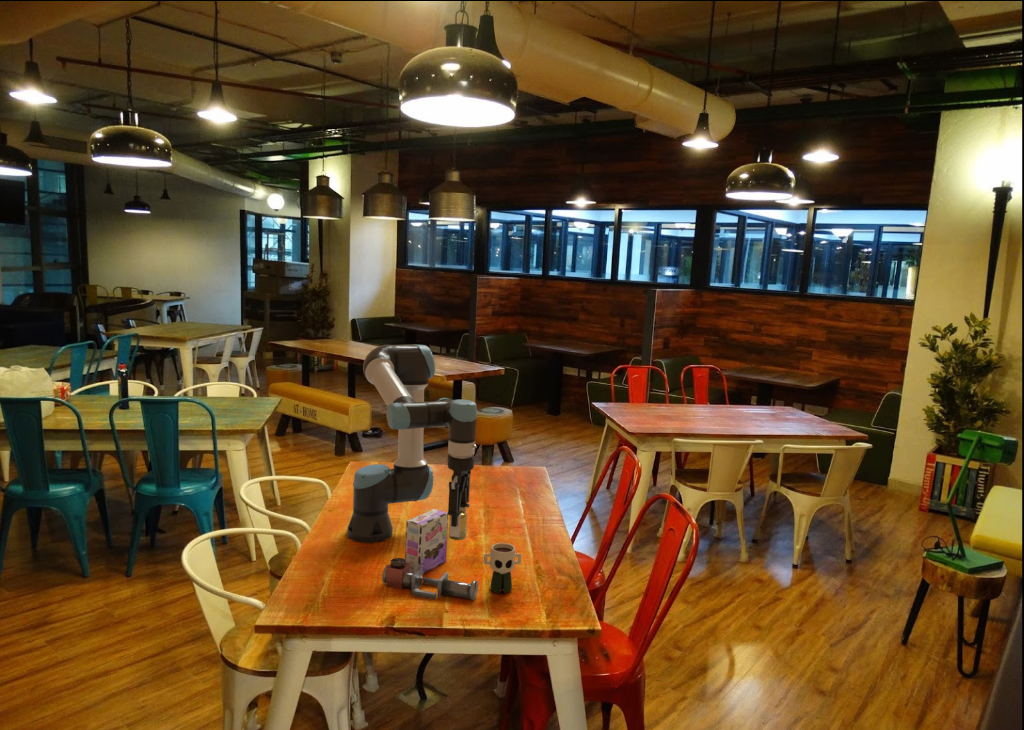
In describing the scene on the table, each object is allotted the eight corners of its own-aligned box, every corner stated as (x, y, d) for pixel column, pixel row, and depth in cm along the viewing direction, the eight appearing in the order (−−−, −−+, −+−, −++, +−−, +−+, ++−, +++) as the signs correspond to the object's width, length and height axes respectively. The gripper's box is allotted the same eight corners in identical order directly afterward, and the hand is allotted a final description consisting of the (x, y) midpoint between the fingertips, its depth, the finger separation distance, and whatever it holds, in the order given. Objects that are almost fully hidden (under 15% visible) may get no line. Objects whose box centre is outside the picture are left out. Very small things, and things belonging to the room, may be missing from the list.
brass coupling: (446, 538, 200) (447, 515, 199) (452, 532, 205) (453, 509, 204) (463, 541, 199) (464, 517, 198) (468, 534, 204) (469, 511, 203)
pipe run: (379, 589, 200) (379, 565, 199) (392, 575, 208) (393, 553, 207) (469, 606, 193) (470, 581, 192) (479, 591, 201) (481, 568, 200)
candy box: (418, 577, 208) (420, 524, 206) (403, 571, 211) (405, 520, 209) (446, 561, 220) (449, 511, 217) (432, 556, 223) (434, 507, 221)
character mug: (483, 596, 199) (485, 552, 197) (481, 584, 206) (483, 542, 204) (521, 595, 201) (523, 552, 199) (517, 584, 207) (520, 542, 206)
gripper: (464, 465, 189) (460, 546, 192) (482, 448, 206) (478, 523, 210) (438, 461, 190) (434, 542, 194) (458, 445, 208) (454, 519, 211)
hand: (457, 532), depth 202 cm, fingers closed on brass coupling, 5 cm apart
